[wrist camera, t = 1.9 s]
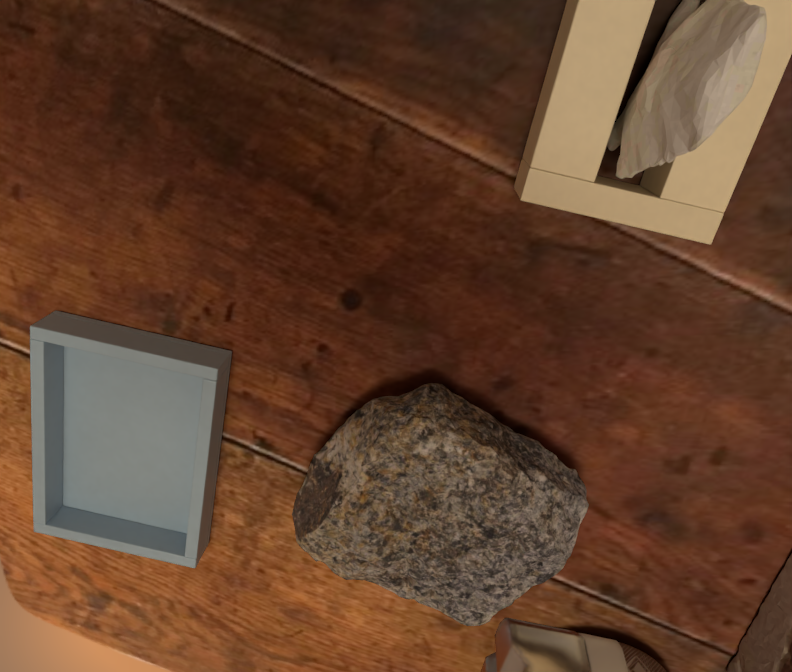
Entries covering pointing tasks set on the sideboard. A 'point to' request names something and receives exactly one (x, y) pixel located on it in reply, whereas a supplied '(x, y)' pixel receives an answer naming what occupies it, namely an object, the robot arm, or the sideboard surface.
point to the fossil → (769, 631)
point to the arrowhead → (690, 82)
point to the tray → (125, 436)
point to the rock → (439, 504)
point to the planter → (640, 660)
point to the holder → (596, 112)
